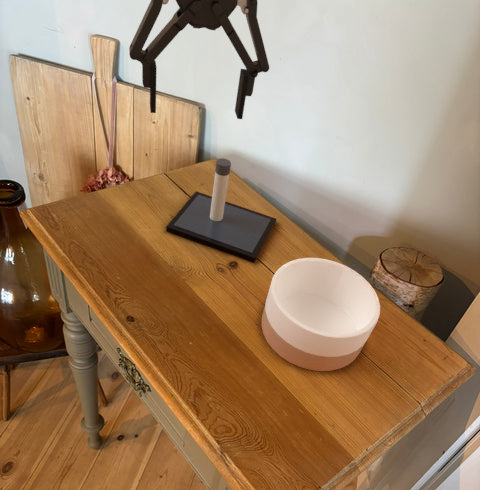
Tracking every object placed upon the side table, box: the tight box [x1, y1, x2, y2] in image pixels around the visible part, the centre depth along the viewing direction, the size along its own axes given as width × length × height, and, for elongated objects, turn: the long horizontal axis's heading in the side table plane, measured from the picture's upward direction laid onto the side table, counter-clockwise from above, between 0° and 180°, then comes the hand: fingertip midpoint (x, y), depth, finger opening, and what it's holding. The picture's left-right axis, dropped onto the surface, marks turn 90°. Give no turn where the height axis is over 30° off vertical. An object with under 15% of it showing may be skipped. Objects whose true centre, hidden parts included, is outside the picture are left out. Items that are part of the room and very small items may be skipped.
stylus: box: [210, 157, 232, 221], centre depth 87 cm, size 3×3×12 cm
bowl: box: [260, 257, 381, 372], centre depth 74 cm, size 17×17×8 cm
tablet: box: [165, 190, 277, 264], centre depth 91 cm, size 18×14×1 cm
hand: (196, 112), depth 73 cm, fingers open, 13 cm apart
